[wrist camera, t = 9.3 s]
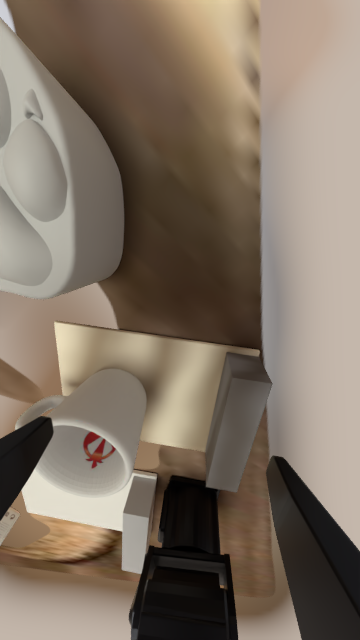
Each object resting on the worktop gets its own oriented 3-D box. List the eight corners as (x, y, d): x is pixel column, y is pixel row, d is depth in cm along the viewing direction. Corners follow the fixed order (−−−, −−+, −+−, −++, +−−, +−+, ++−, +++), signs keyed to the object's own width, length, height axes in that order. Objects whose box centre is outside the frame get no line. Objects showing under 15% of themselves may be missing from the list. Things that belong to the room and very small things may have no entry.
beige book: (258, 349, 19) (274, 378, 15) (229, 453, 24) (235, 495, 20) (56, 320, 20) (20, 339, 16) (68, 425, 25) (42, 460, 21)
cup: (64, 410, 24) (2, 485, 17) (54, 350, 21) (-26, 408, 14) (154, 422, 23) (132, 506, 16) (156, 362, 20) (130, 430, 13)
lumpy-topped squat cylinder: (19, 274, 19) (-113, 295, 11) (-19, 91, 15) (-287, -95, 7) (126, 283, 19) (67, 312, 10) (121, 94, 14) (11, -111, 6)
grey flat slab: (157, 474, 27) (149, 515, 23) (150, 533, 32) (143, 576, 28) (13, 447, 28) (-19, 482, 24) (29, 509, 33) (4, 546, 29)
